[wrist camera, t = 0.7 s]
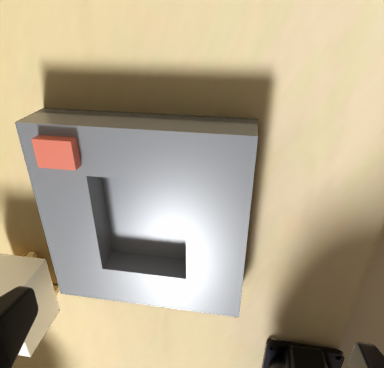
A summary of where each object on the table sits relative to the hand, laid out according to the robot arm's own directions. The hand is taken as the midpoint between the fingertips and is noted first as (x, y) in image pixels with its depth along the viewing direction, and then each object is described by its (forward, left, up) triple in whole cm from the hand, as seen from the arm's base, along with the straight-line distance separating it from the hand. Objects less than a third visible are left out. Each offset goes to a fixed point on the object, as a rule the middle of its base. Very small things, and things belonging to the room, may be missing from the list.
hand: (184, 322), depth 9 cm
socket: (-5, +5, -14) cm, 15 cm away
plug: (-13, +16, -14) cm, 25 cm away
